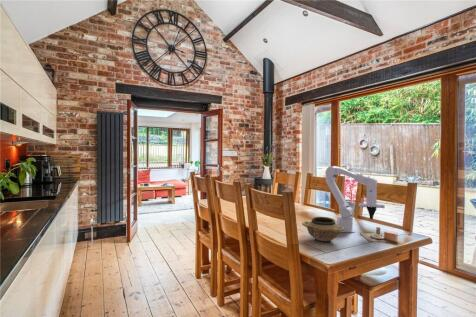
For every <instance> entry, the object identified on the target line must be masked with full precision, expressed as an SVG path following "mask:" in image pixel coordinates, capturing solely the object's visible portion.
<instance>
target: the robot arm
mask: <svg viewBox="0 0 476 317" xmlns="http://www.w3.org/2000/svg"><path fill="white" fill-rule="evenodd" d="M324 173H325V183H326V185H327V186H328V188H329V190H330V192H331V193H332V196H333V197H334V199H335V200H336V202H337V204H338V210H339V215H340V217H337V218H336V224H337V225H338V226H341V227H344V228H345V230H344V231H339V233H355V230H353V224H354V223H353V222H354V221H353V220H354V219H353V215H354V213H355V211H354V208H353V206H350V204H349V202H347V200H346V199H345V197H344V195H343V193H342V192H341V190H340V189H339V187H338V185H337V183H336V181H335V180H336V178H337V176H338V175H343V176H346V177H349V178H351V179H353V180H354V182H356V183H358V184H362V185H364V186H366V202H364V203H358V207H359V208H366V210H367V212H368V214H369V220H374V215H375V213H376V211H377V209H385V204H380V203H377V200H378V199H377V198H378V197H377V196H378V195H377V194H378V193H377V191H378V190H377V189H378V188H377V186H378V183H379V182H378V180H377V179H376V178H375V177H371V176H369V175H368V176H367V175H365V174H364V173H362V172H358V173H356V172H352V171H349V170H348V169H345V168H344V167H340V166H337V165H333V166H328V167H327V168H326V169H325V172H324Z"/></svg>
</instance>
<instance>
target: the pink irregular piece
mask: <svg viewBox="0 0 476 317" xmlns="http://www.w3.org/2000/svg"><path fill="white" fill-rule="evenodd" d="M382 234H384V235H382ZM370 237H372V238H375V239H386V240H390V241H394V242H398V241H399V240H398V237H399V233H398V232H397V233H396V232H393V231H392V232H391V231H387V230H384V232H383V233H381V232H380V234H377V233H376V232H374V233H370Z"/></svg>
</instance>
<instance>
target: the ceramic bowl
mask: <svg viewBox="0 0 476 317" xmlns="http://www.w3.org/2000/svg"><path fill="white" fill-rule="evenodd" d="M301 225H302V226H303V227H305V228H306V229H307V232H308V234H309V236H311V238H313V240H314V242H316V243H319V244H322V245H323V244H325V245H326V244H327V245H328V244H331V242H332V240H335V239H336V238H337V237H338V236H339V234H340V231H344V230H345V228H344V227H341V226H338V225H337V222H336V219H334V218H331V217H327V216H314V217H312V218H311V221H303V222H302V223H301Z"/></svg>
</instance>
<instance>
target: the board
mask: <svg viewBox="0 0 476 317" xmlns="http://www.w3.org/2000/svg"><path fill="white" fill-rule="evenodd" d="M375 233H377V234H380V233H381V227H380V226H376V228H375ZM359 234H360V236H362V237H363V238H364V239H366V240H367V241H368V242H369V243H371V242H372V243H395V244H397V243H399V242H398V241H397V242H394V241H390V240H386V239H375V238H372V237H370V234H371V233H370V232H369V233H367V232H366V233H365V232H362V233H361V232H360V233H359ZM381 234H382V235H384V233H381Z"/></svg>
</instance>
